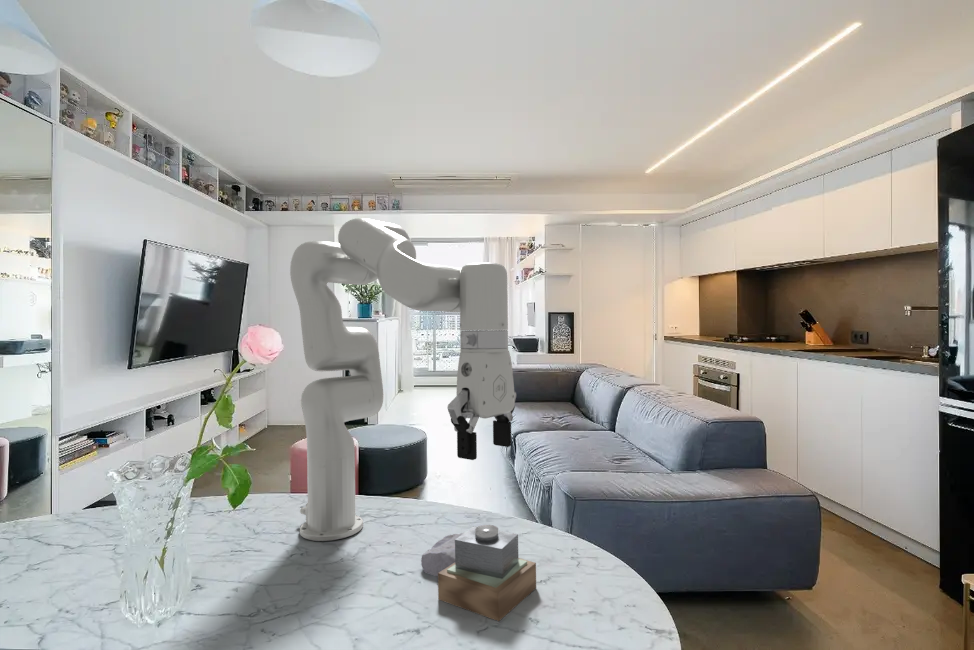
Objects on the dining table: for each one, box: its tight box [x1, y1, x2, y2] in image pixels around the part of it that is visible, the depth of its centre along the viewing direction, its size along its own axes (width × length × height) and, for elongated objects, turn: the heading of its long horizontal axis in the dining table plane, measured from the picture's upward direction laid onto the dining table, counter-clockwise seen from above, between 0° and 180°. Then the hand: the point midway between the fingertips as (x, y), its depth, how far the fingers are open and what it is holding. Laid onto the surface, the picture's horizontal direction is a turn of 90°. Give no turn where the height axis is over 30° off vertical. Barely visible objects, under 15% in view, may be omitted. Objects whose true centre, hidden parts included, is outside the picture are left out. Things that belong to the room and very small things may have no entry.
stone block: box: [420, 532, 464, 577], centre depth 90 cm, size 12×5×10 cm
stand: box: [437, 557, 537, 622], centre depth 79 cm, size 11×11×4 cm
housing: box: [455, 524, 519, 579], centre depth 79 cm, size 6×8×6 cm
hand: (485, 451), depth 80 cm, fingers open, 9 cm apart
